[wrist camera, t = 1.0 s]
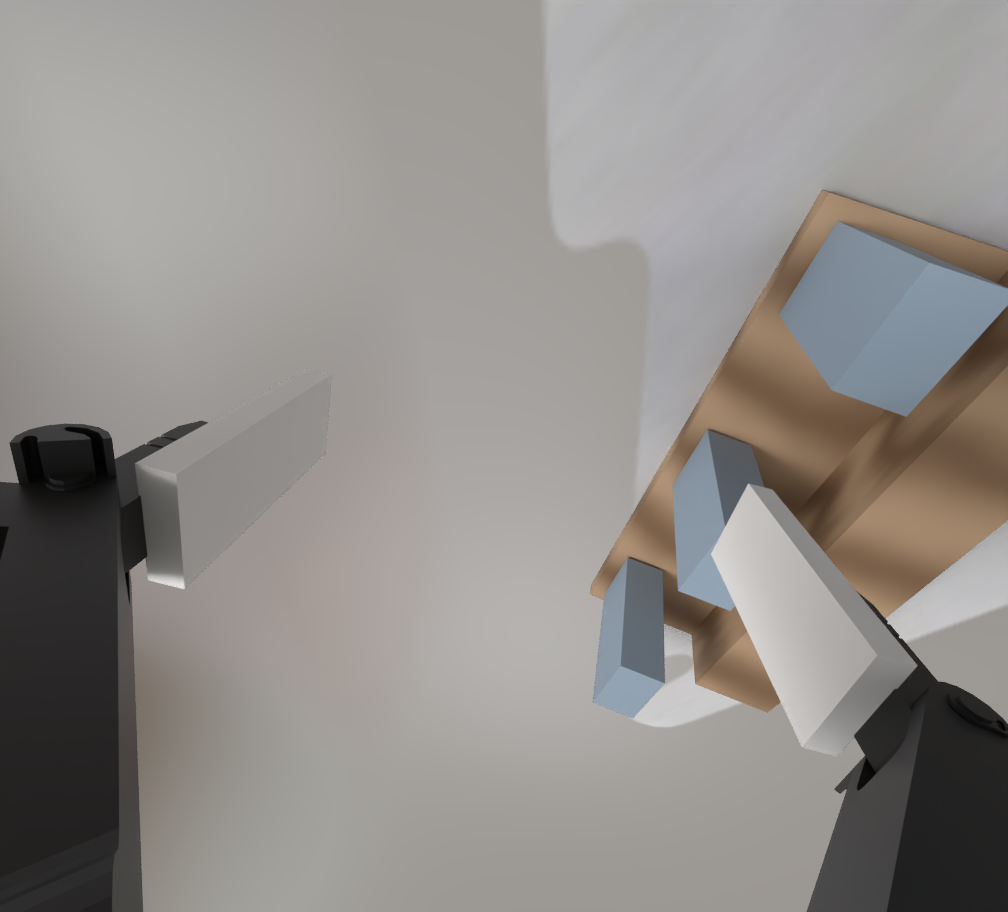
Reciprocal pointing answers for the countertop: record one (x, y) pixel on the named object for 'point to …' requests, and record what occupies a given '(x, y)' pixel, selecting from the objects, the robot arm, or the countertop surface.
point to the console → (839, 456)
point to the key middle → (709, 511)
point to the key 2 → (887, 317)
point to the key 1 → (631, 640)
